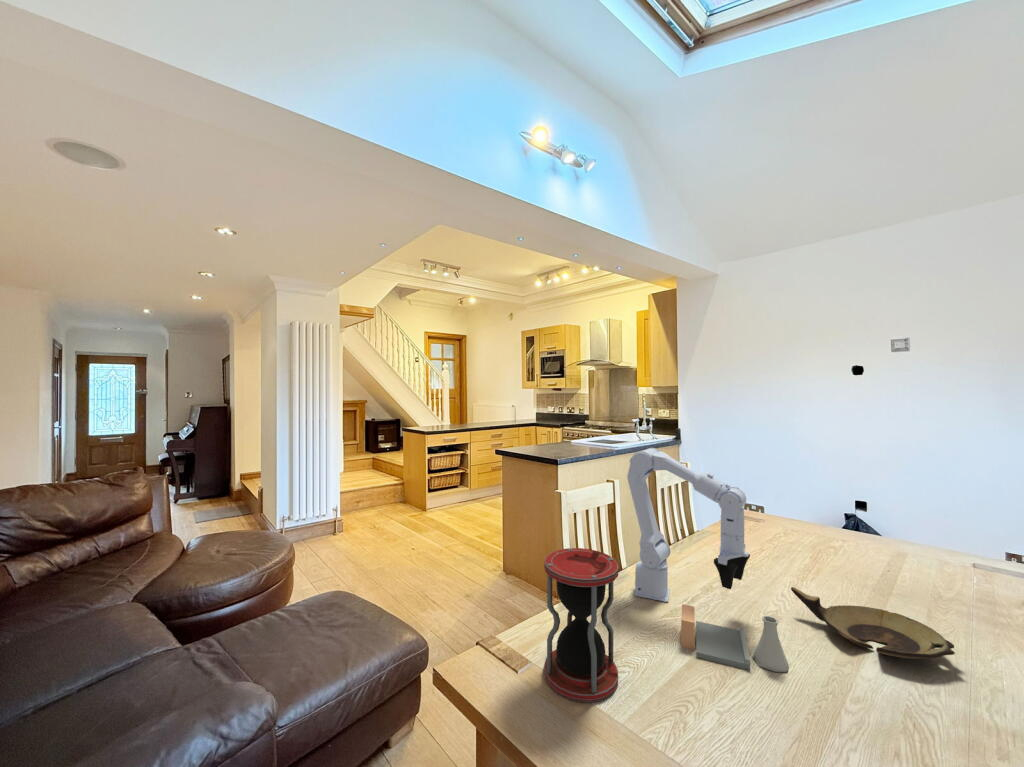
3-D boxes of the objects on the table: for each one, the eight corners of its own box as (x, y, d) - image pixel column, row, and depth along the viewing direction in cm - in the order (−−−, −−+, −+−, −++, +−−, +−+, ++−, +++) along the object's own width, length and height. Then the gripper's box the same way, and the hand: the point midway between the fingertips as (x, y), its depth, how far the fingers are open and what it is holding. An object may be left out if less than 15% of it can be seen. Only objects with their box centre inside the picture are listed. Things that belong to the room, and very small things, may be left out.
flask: (783, 656, 97) (783, 613, 97) (793, 676, 90) (793, 631, 90) (749, 649, 100) (749, 608, 100) (756, 669, 93) (756, 624, 93)
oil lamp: (920, 692, 86) (920, 655, 86) (780, 617, 114) (780, 589, 114) (974, 665, 94) (974, 631, 94) (831, 601, 122) (831, 575, 122)
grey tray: (696, 657, 97) (696, 647, 97) (696, 625, 109) (696, 617, 109) (750, 670, 92) (750, 660, 92) (743, 635, 105) (743, 627, 105)
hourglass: (632, 696, 84) (632, 574, 84) (557, 709, 81) (557, 582, 81) (599, 647, 100) (599, 544, 100) (535, 656, 97) (535, 550, 97)
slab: (681, 646, 101) (681, 620, 101) (682, 628, 108) (682, 604, 108) (694, 649, 100) (694, 622, 100) (694, 631, 107) (694, 606, 107)
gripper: (738, 544, 104) (738, 597, 104) (757, 530, 114) (757, 579, 114) (710, 536, 110) (709, 587, 110) (730, 524, 120) (729, 571, 119)
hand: (732, 583), depth 112 cm, fingers open, 7 cm apart
